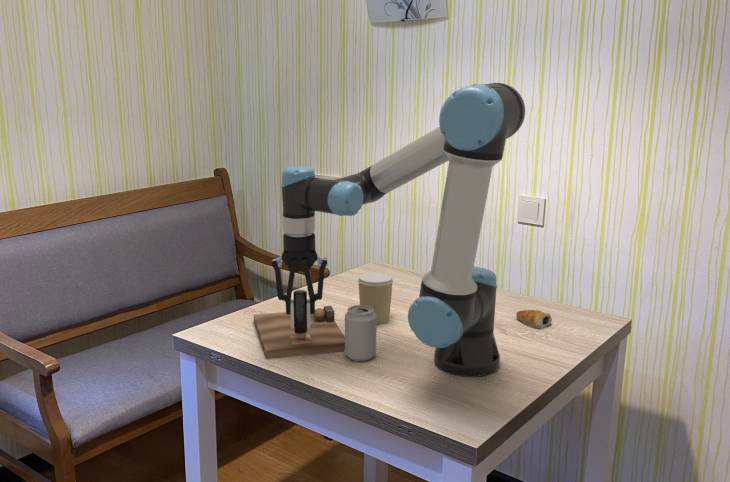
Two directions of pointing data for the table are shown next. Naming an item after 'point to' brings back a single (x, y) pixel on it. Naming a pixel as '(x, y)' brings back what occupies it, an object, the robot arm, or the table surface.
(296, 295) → the lever
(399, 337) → the table surface
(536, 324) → the pastry
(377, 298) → the coffee cup
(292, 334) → the nutcracker board
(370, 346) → the can
